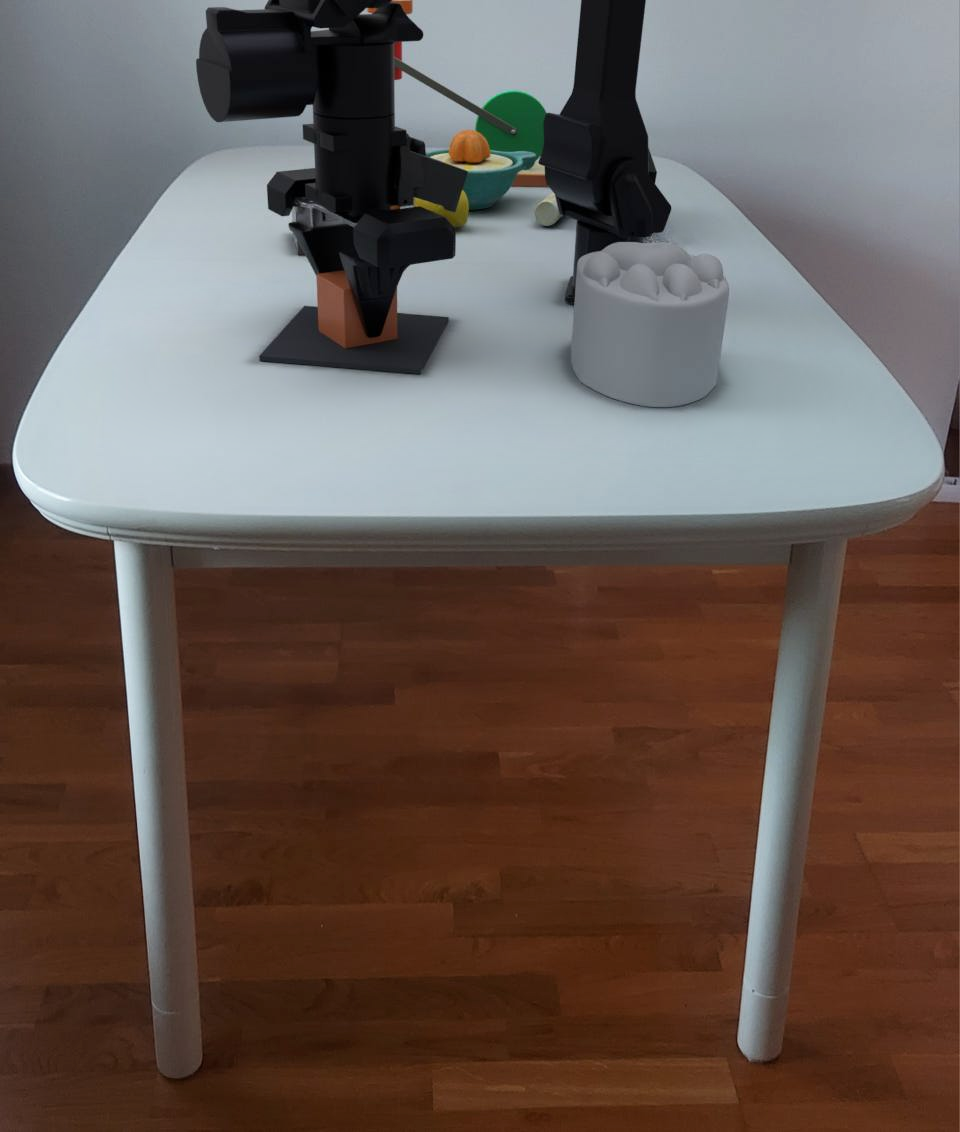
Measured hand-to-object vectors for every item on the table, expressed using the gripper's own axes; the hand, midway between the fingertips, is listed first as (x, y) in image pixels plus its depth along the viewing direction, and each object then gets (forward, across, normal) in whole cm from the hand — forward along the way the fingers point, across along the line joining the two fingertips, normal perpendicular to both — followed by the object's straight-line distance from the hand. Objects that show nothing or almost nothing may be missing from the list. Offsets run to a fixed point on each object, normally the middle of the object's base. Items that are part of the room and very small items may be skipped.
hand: (358, 327), depth 90 cm
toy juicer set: (+1, +30, -29) cm, 42 cm away
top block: (+1, 0, 0) cm, 1 cm away
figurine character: (+1, +19, -41) cm, 45 cm away
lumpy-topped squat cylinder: (+1, -16, -15) cm, 22 cm away
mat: (+1, 0, 0) cm, 1 cm away
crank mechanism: (+1, +44, -38) cm, 58 cm away
